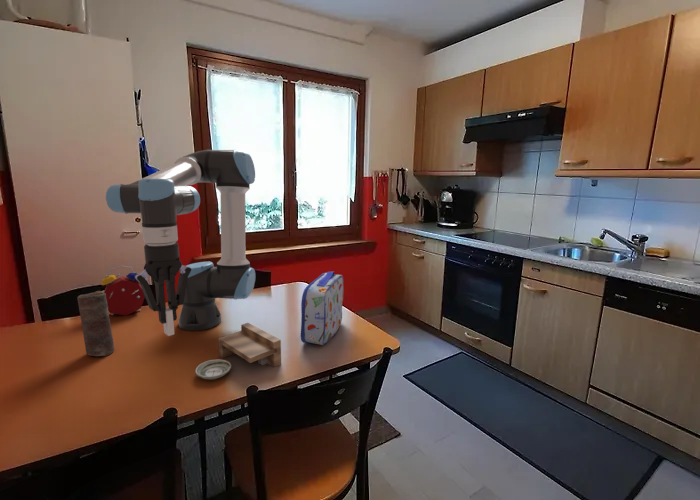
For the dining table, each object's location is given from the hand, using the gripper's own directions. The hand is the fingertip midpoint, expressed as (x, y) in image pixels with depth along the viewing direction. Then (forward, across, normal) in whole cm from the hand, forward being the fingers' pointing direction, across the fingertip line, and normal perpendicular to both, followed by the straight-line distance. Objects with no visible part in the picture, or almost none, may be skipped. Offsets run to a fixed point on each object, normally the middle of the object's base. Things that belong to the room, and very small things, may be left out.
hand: (169, 333), depth 94 cm
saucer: (+17, +11, 0) cm, 20 cm away
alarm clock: (+16, +8, +67) cm, 70 cm away
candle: (+16, -8, +37) cm, 41 cm away
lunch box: (+16, +52, -2) cm, 55 cm away
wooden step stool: (+16, +22, 0) cm, 27 cm away
